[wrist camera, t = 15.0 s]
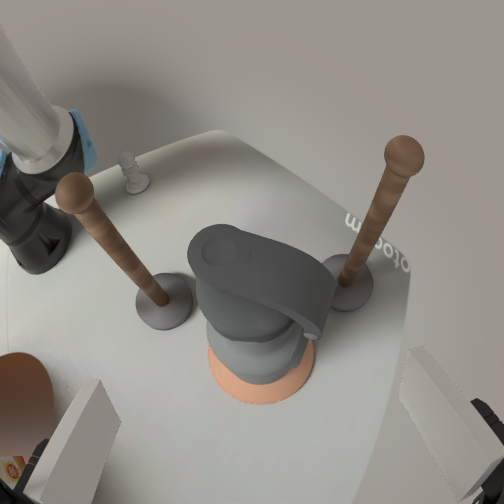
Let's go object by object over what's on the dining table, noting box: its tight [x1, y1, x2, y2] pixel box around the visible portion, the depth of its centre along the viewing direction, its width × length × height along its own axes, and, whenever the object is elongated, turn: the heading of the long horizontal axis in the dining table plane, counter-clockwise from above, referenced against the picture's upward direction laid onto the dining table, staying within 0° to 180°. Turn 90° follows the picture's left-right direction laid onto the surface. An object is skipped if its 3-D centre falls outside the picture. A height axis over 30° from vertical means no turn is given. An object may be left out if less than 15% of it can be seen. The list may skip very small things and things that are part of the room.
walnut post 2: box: [322, 135, 424, 311], centre depth 33 cm, size 9×9×29 cm
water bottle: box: [187, 224, 336, 385], centre depth 28 cm, size 10×10×28 cm
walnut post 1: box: [55, 172, 192, 330], centre depth 33 cm, size 9×9×29 cm
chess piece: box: [118, 152, 149, 194], centre depth 54 cm, size 5×5×9 cm
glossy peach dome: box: [208, 339, 314, 404], centre depth 41 cm, size 15×15×1 cm
